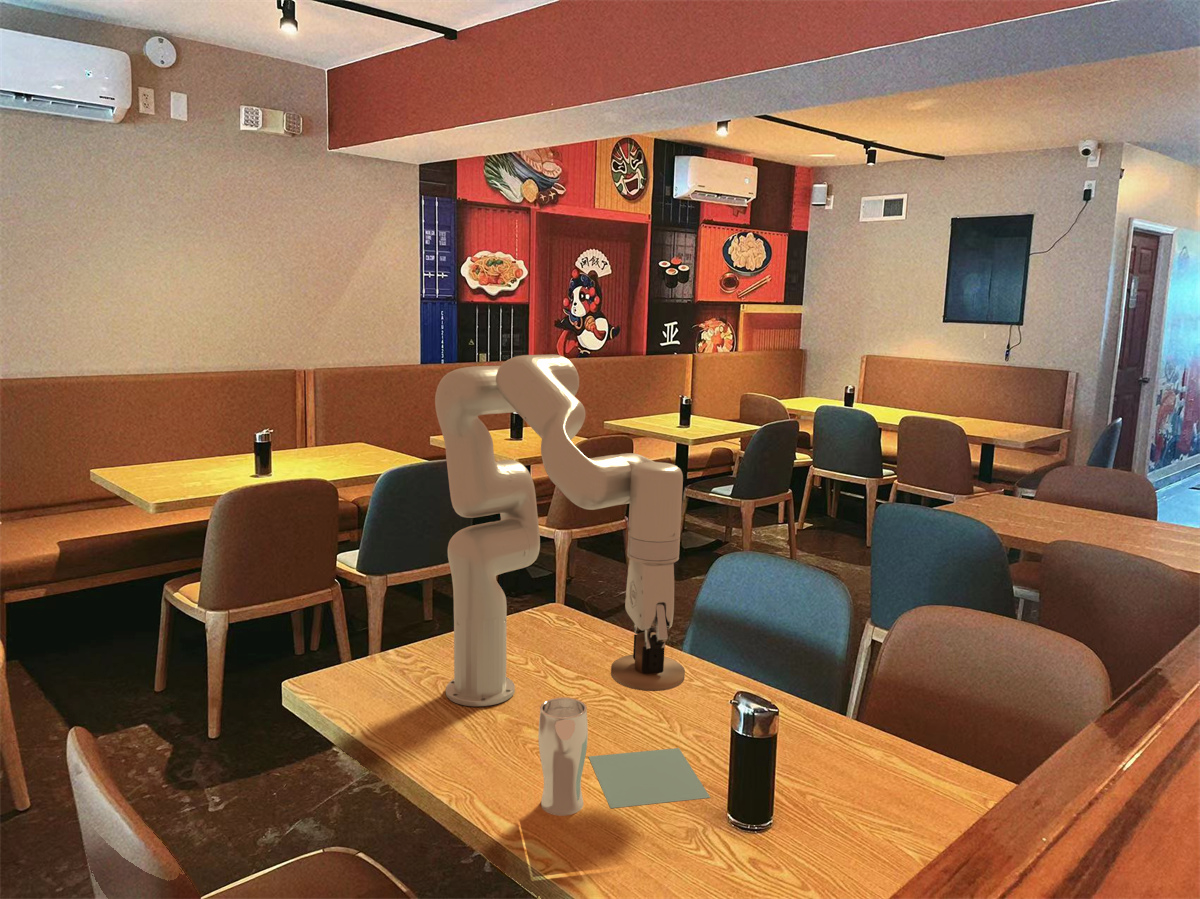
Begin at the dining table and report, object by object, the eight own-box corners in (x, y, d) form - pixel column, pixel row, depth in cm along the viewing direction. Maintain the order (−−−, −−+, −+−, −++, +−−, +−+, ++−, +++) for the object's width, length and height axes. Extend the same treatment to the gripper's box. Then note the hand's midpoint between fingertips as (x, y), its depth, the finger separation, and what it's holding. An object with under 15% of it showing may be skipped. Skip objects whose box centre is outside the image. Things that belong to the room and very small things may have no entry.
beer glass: (580, 822, 123) (582, 721, 121) (532, 816, 125) (532, 715, 122) (591, 796, 130) (592, 699, 128) (544, 790, 131) (546, 694, 129)
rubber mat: (588, 758, 141) (588, 756, 141) (678, 750, 144) (678, 747, 144) (610, 810, 126) (610, 808, 126) (710, 800, 130) (710, 797, 130)
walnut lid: (603, 662, 137) (604, 625, 136) (671, 658, 139) (673, 621, 138) (621, 693, 126) (623, 653, 125) (694, 688, 129) (696, 649, 128)
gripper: (614, 533, 137) (610, 645, 140) (644, 565, 121) (638, 692, 124) (661, 531, 138) (656, 643, 142) (696, 563, 122) (689, 688, 125)
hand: (647, 664), depth 133 cm, fingers closed on walnut lid, 4 cm apart
